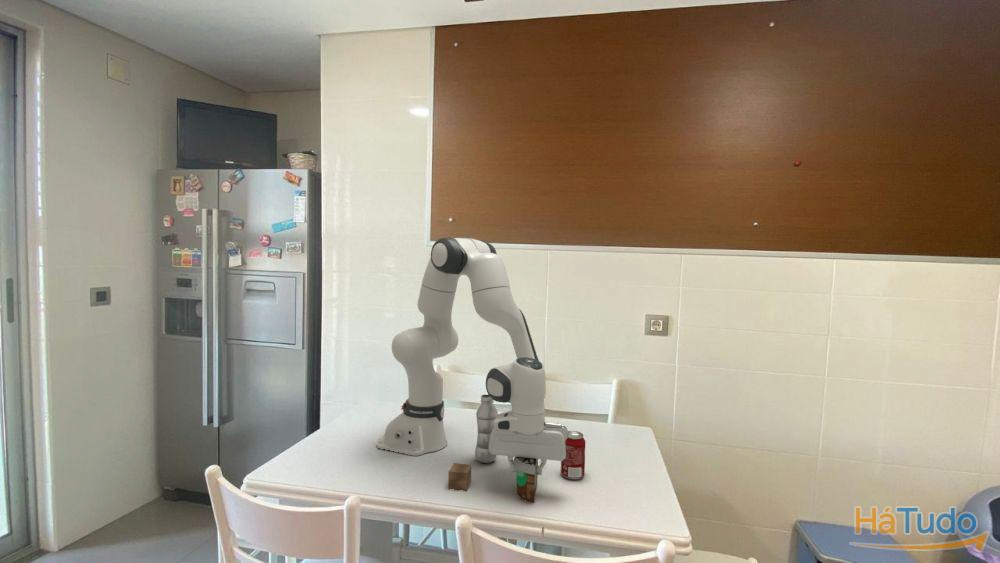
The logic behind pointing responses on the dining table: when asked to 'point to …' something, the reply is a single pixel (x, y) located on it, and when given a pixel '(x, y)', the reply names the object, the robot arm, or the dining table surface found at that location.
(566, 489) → the dining table surface
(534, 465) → the food container
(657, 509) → the dining table surface
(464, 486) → the walnut block
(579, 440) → the soda can
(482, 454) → the plastic bottle
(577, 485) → the dining table surface
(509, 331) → the robot arm
